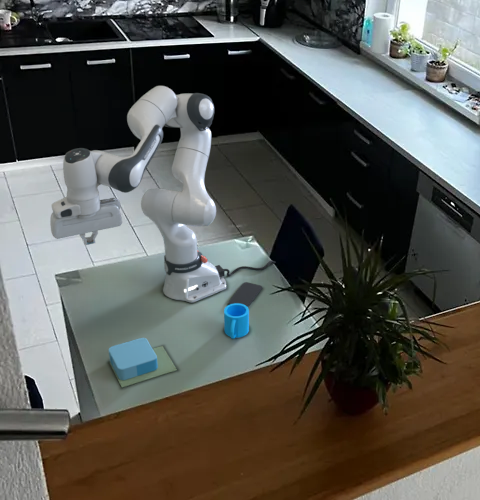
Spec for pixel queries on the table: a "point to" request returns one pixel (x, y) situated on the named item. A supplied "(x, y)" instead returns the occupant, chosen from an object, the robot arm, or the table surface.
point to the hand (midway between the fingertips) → (89, 243)
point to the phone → (245, 294)
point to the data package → (133, 358)
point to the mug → (236, 320)
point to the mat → (163, 368)
